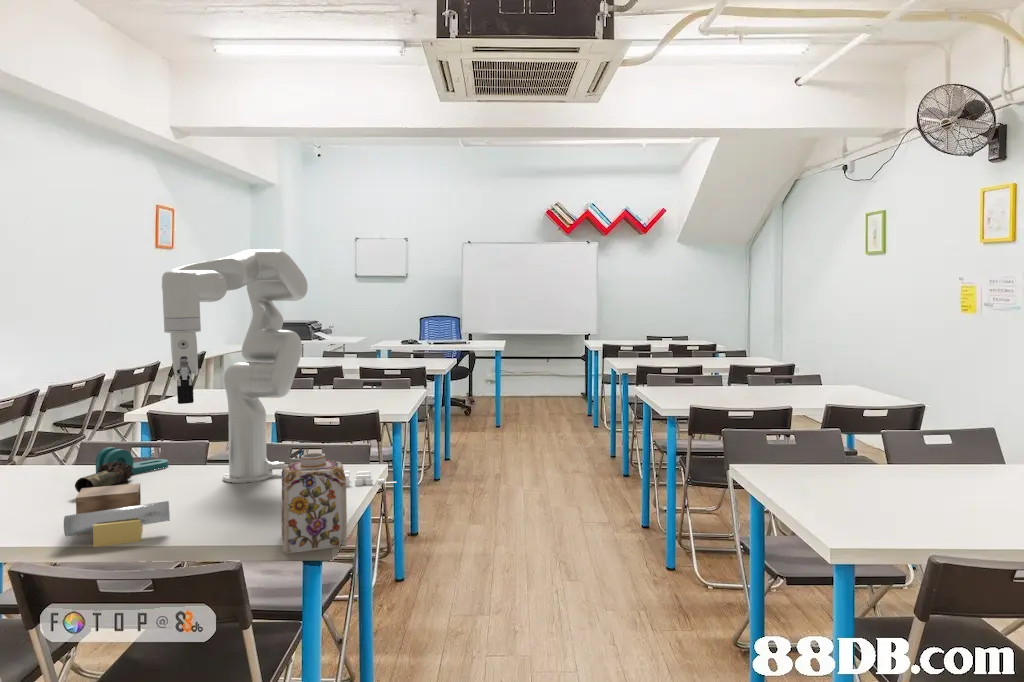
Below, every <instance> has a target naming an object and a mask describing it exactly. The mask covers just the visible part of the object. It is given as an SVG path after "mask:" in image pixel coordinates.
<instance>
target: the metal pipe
mask: <svg viewBox="0 0 1024 682" xmlns="http://www.w3.org/2000/svg"><path fill="white" fill-rule="evenodd" d="M132 468H133V466H131V465H127V464H125V463H122V462H120V463H117V461H116V462H112V463H111V462H108V463H106V464H102V465H101V466H99V468H98V472H97V473H96V472H95V473H93V474H89V475H85V476H83V477H80V478H78V479H77V480H76V482H75V483H74V488H75V491H76V492H78V493H79V492H80V490H81V489H82V488H91V487H103V486H114V485H119V484H123V483H124V484H125V483H128V482H129V481H128V480H129V479H131V478H132V477H133V476H135V474H133V473H132Z"/></svg>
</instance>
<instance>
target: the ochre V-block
mask: <svg viewBox="0 0 1024 682" xmlns="http://www.w3.org/2000/svg"><path fill="white" fill-rule="evenodd" d="M143 531H144V525H141V519H139V520H129V521H120V522H111V523H101V524H94V525H93V534H92V535H93V536H92V539H93V543H92V544H93V545H92V546H93V548H99V547H105V546H107V547H108V546H112V545H122V544H127V543H128V544H130V543H137V542H141V541H142V536H143Z"/></svg>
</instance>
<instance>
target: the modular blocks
mask: <svg viewBox="0 0 1024 682" xmlns="http://www.w3.org/2000/svg"><path fill="white" fill-rule="evenodd" d="M371 473H372V472H371V471H369V470H365V471H363V470H362V471H357V472H356V473H355V476H354V485H355V486H356V487H357V486H363V485H365V484H366V485H365V486H370V485H371V484H372V485H373V475H372V474H371ZM344 474H345V478H346V486H350V470H344ZM396 483H398V482H397V481H385V478H377V484H379V485H381V484H396ZM372 485H371V486H372Z"/></svg>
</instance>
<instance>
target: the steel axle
mask: <svg viewBox="0 0 1024 682" xmlns="http://www.w3.org/2000/svg"><path fill="white" fill-rule="evenodd" d="M170 514H171V512H170V500H166V501H158V502H152V503H145V504H141V505H137V506H130V507H123V508H116V509H109V510H102V511H95V512H88V513H81V514H76V513H74V514H67V515H64V517H63V532H64V533H63V534H64V536H65V537H66V538H67V537H75V536H81V534H85V535H88V534H87V533H93V525H94V524H101V523H111V522H120V521H129V520H139V519H141V525H143V526H144V525H151V524H158V523H163V522H164V523H165V522H169V521H170V519H171V517H170V516H171V515H170Z"/></svg>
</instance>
